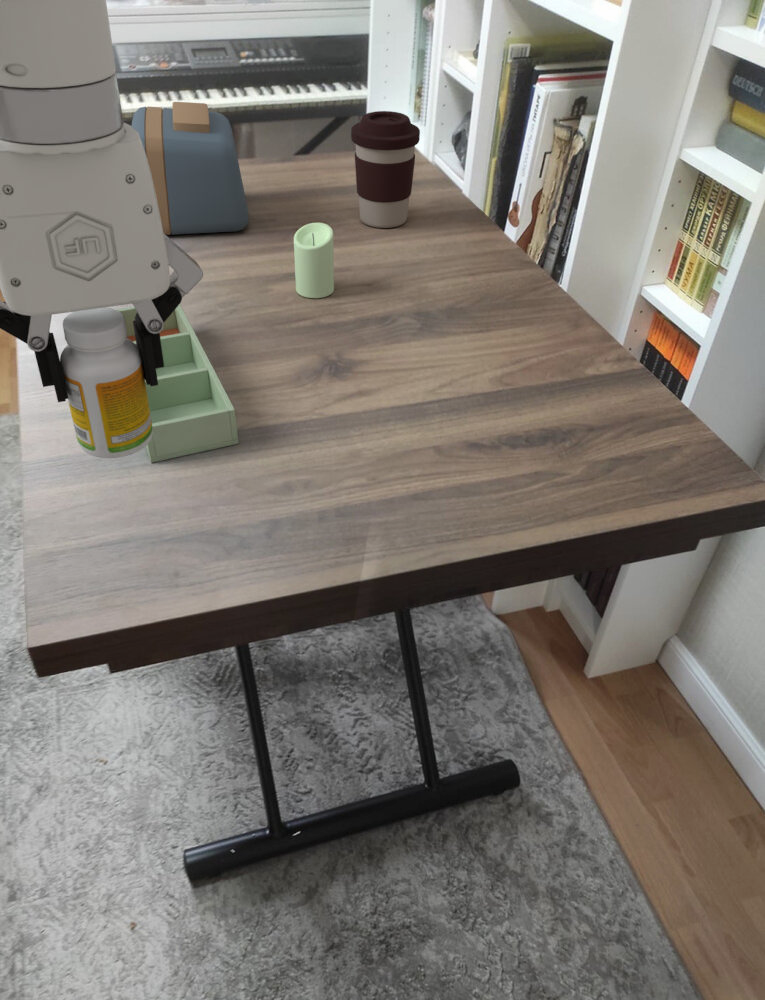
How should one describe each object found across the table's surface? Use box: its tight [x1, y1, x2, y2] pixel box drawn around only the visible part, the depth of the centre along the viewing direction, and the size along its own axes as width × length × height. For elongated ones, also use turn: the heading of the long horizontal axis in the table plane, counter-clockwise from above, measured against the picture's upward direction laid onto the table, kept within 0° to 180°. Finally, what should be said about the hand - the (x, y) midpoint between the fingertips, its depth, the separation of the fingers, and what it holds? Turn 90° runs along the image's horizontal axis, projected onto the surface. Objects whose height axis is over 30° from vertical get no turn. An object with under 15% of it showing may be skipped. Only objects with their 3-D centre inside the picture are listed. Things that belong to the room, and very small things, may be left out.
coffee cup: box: [350, 110, 421, 229], centre depth 124 cm, size 10×10×15 cm
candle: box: [293, 222, 335, 299], centre depth 107 cm, size 5×5×8 cm
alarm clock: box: [130, 101, 250, 236], centre depth 123 cm, size 16×16×16 cm
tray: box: [115, 303, 239, 464], centre depth 89 cm, size 9×25×4 cm, turn 23°
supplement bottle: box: [59, 307, 153, 459], centre depth 59 cm, size 5×5×10 cm
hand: (105, 381), depth 59 cm, fingers closed on supplement bottle, 5 cm apart
